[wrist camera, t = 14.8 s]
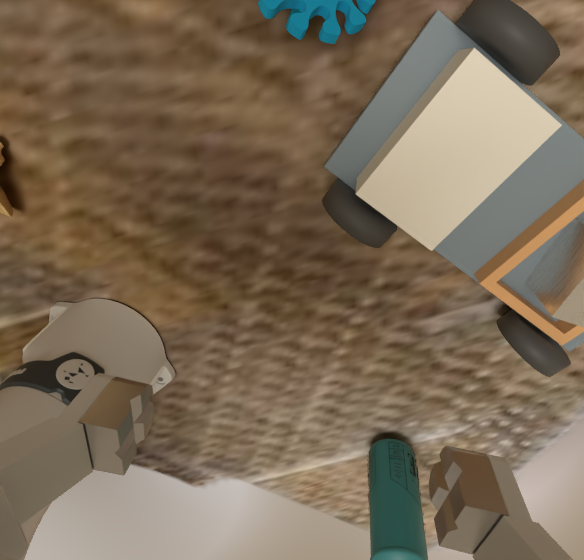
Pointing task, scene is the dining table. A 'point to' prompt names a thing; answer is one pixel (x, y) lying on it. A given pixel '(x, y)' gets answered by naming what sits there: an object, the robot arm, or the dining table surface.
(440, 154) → the chassis
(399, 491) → the beverage bottle
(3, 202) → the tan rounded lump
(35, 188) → the dining table surface
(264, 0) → the gear
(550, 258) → the block
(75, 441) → the robot arm
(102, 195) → the dining table surface
